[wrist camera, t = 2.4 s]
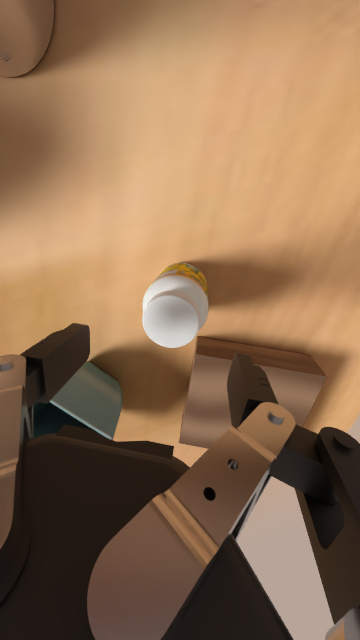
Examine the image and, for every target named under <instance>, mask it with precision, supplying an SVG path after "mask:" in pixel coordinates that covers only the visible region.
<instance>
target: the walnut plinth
mask: <svg viewBox="0 0 360 640" xmlns="http://www.w3.org/2000/svg"><path fill="white" fill-rule="evenodd" d="M235 352H237V353H243V354H248V355H250V356H251V359H252V362H253V364H254V365H257V366H260V367H261V369H262V370H263V371H264V372H265V373H266V375H267V378H268V381H269V382H270V385H271V387H272V390H273V392H274V394H275V397H276V399H277V401H278V404H279V405H280V406H282V407H283V408H285V409H286V410H287V411H289V412H290V413H291V415H292V416H293V417H294V419H295V423H296V424H297V425H298V426H300V427H303V425H304V423H305V420H306V418H307V416H308V414H309V412H310V410H311V408H312V406H313V404H314V402H315V400H316V398H317V396H318V394H319V392H320V390H321V388H322V386H323V384H324V382H325V380H326V378H327V376H326V375H325V374H324V372H323V371H322V370H321V369H320V367H319V366H318V365H317V364H316V362H315V361H314V360H313V359H312V358H311V356H310V355H306V354H300V353H295V352H289V351H283V350H277V349H271V348H265V347H259V346H253V345H247V344H241V343H235V342H229V341H223V340H217V339H211V338H205V337H199V336H197V341H196V346H195V352H194V357H193V362H192V368H191V373H190V379H189V384H188V389H187V395H186V400H185V405H184V411H183V416H182V424H181V432H180V440H179V443H182V444H187V445H192V446H198V447H203V448H208V449H209V448H210V447H211V446H212V445H213V444H214V443H215V442H216V441H217V440H218V439H219V438H220V437H221V436H222V435H223V434H224V433H225V432H226V431H227V430H228V429H229V428H230V427H231V426H232V423H231V415H230V408H229V400H228V392H227V379H228V375H229V371H230V368H231V364H232V360H233V357H234V354H235Z"/></svg>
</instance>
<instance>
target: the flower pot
mask: <svg viewBox="0 0 360 640" xmlns="http://www.w3.org/2000/svg"><path fill="white" fill-rule="evenodd" d="M122 402H123V397H122V391H121V388H120V385H119V383H118V381H117V380H115V379H114V378H112V377H111V376H109V375H108V374H106V373H105V372H104V371H102V370H101V369H99V368H98V367H96V366H95V365H93V364H92V363H90V362H87V361H86V362H85V363H84V364H83V365H82V367H81V368H80V369H79V370H78V371H77V372H76V373H75V374H74V375H73V376H72V377H71V378H70V380H69V381H68V382H67V383H66V384H65V385H64V386H63V387H62V388H61V389H60V390H59V392H58V393H57V394H56V395H55V396H54V397H53V398H52V399H51V400H50V401H49V402H48V404H47V403H42V402H37V401H36V402H35V403H34V404H33V428H34V438H35V437H38V436H42V435H46V434H54V433H58V432H59V430H60V429H61V428H62V426H63V425H64V424H66V425H71V426H76V427H81V428H86V429H91V430H93V431H95V432H97V433H99V434H101V435H103V436H105V437H107V438H109V439H111V440H113V437H114V434H115V430H116V427H117V423H118V420H119V416H120V412H121V408H122Z"/></svg>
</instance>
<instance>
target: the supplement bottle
mask: <svg viewBox="0 0 360 640" xmlns="http://www.w3.org/2000/svg"><path fill="white" fill-rule="evenodd" d="M208 309H209V305H208V287H207V281H206V279H205V276H204V275H203V273H202V272H201V271H200V270H199V269H198V268H196V267H194V266H192V265H190V264H187V263H176V264H173V265H170V266H169V267H167V268H166V269H165V270H164V271H163V272H162V273H161V274H160V275H159V276H158V277H157V279H156V280H155V281H154V282H153V283H152V284H151V285H150V287H149V288H148V289H147V291H146V293H145V295H144V299H143V317H142V322H143V327H144V330H145V332H146V334H147V335H148V337H149V338H150V339H151V340H152V341H154V342H155V343H157V344H158V345H161V346H164V347H168V348H177V347H181V346H184V345H186V344H188V343H189V342H190V341H192V340H193V339H194V337H195V336H196V334H197V332H198V331H199V330H200V329H201V327H202V326H203V325H204V323H205V321H206V319H207V316H208Z"/></svg>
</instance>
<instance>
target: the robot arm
mask: <svg viewBox="0 0 360 640" xmlns="http://www.w3.org/2000/svg"><path fill="white" fill-rule="evenodd" d="M53 20H54V0H0V75H1V76H4V77H17V76H20V75H23V74H25V73H27V72H29V71H30V70H31V69H33V68H34V67H35V66H36V65H37V64H38V63H39V61H40V60H41V59H42V57H43V56H44V54H45V51H46V49H47V47H48V45H49V42H50V38H51V33H52V29H53ZM89 354H90V330H89V326H88V325H83V324H77V323H72V324H71V325H69V326H68V327H67V328H65V329H64V330H60V331H57V332H54V333H52V334H50V335H49V336H47V337H46V338H45V339H43V340H41V341H40V342H39V343H37V344H35V345H34V346H32V347H31V348H29V349H28V350H26V351H25V352H23V353H22V354H20V355H15V354H11V355H3V356H0V640H293V638H292V636H291V634H290V633H289V631H288V629H287V628H286V626H285V624H284V622H283V621H282V619H281V617H280V616H279V614H278V612H277V610H276V609H275V607H274V605H273V604H272V602H271V600H270V599H269V597H268V595H267V593H266V592H265V590H264V588H263V587H262V585H261V583H260V581H259V580H258V578H257V576H256V575H255V573H254V571H253V570H252V568H251V566H250V564H249V563H248V561H247V559H246V558H245V556H244V554H243V552H242V551H241V549H240V547H239V546H238V544H237V542H236V541H237V539H238V537H239V535H240V533H241V531H242V530H243V528H244V526H245V523H246V522H247V520H248V518H249V516H250V514H251V512H252V510H253V509H254V507H255V505H256V503H257V502H258V500H259V498H260V496H261V495H262V493H263V491H264V489H265V488H266V486H267V484H268V482H269V480H270V479H271V477H272V476H273V477H274V478H276V479H278V480H280V481H282V482H284V483H286V484H288V485H290V486H292V487H294V488H295V491H296V494H297V498H298V501H299V505H300V508H301V511H302V515H303V518H304V522H305V525H306V529H307V532H308V536H309V539H310V542H311V546H312V549H313V553H314V557H315V560H316V563H317V567H318V570H319V574H320V577H321V581H322V584H323V587H324V591H325V595H326V598H327V601H328V605H329V608H330V612H331V615H332V619H333V622H334V626H333V627H332V628H331V629H330V630H329V631H328V632H327V634H326V637H325V640H360V444H359V443H358V442H357V441H356V440H355V439H354V438H352V437H351V436H350V435H349V434H347V433H345V432H343V431H341V430H339V429H337V428H333V427H324V428H322V429H321V430H320V432H319V434H317V433H314V432H312V431H310V430H307V429H305V428H303V427H300V426H298V425H297V424H296V423H295V419H294V417H293V416H292V415H291V413H290V412H289V411H287V410H286V409H285V408H283V407H282V406H280V405H279V404H278V401H277V399H276V397H275V394H274V392H273V390H272V387H271V385H270V382H269V381H268V378H267V375H266V373H265V372H264V371H263V370H262V369H261V367H260V366H257V365H254V364H253V362H252V359H251V356H250V355H248V354H243V353H237V352H235V354H234V357H233V360H232V364H231V368H230V371H229V375H228V379H227V392H228V400H229V408H230V415H231V423H232V426H231V427H230V428H229V429H228V430H227V431H226V432H225V433H224V434H223V435H222V436H221V437H220V438H219V439H218V440H217V441H216V442H215V443H214V444H213V445H212V446H211V447H210V448H209V449H208V450H207V451H206V452H205V453H204V454H203V455H202V456H201V457H200V458H199V459H198V460H197V461H196V462H195V463H194V464H193V465H192V466H191V467H189V466H187V465H186V464H185V463H184V462H182V461H181V460H179V459H178V458H176V457H174V456H173V449H174V446H170V445H165V444H160V443H155V442H150V441H126V442H116V441H113V440H111V439H109V438H107V437H105V436H103V435H101V434H99V433H97V432H95V431H93V430H91V429H86V428H81V427H76V426H71V425H66V424H64V425H63V426H62V428H61V429H60V430H59V432H58V433H54V434H46V435H42V436H38V437H35V438H34V428H33V404H34V403H35V402H36V401H37V402H42V403H47V404H48V402H49V401H50V400H51V399H52V398H53V397H54V396H55V395H56V394H57V393H58V392H59V390H60V389H61V388H62V387H63V386H64V385H65V384H66V383H67V382H68V381H69V380H70V378H71V377H72V376H73V375H74V374H75V373H76V372H77V371H78V370H79V369H80V368H81V367H82V365H83V364H84V363H85V362H86V361H87V359H88V357H89Z"/></svg>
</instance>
